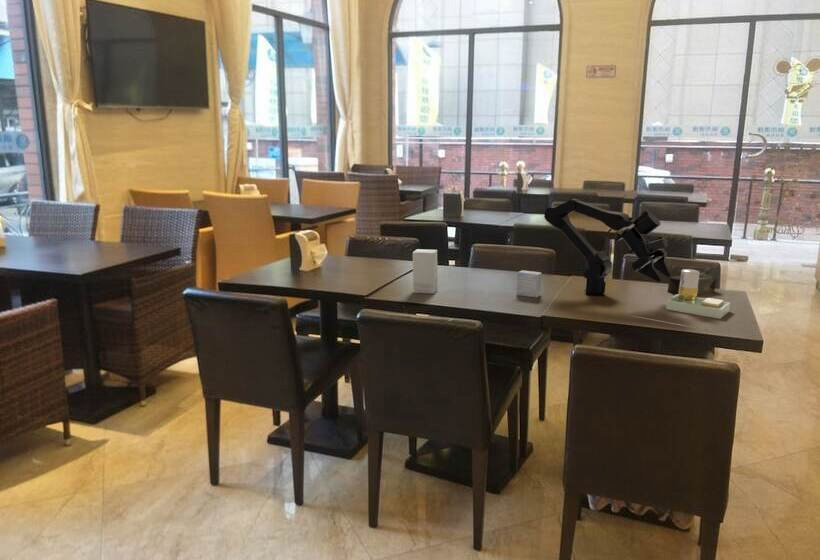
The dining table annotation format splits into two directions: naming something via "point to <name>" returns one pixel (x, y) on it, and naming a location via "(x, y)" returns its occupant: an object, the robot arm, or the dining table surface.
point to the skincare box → (425, 271)
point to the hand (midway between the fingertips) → (665, 278)
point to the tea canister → (688, 286)
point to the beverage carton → (704, 284)
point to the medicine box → (529, 283)
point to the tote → (697, 308)
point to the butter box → (713, 303)
